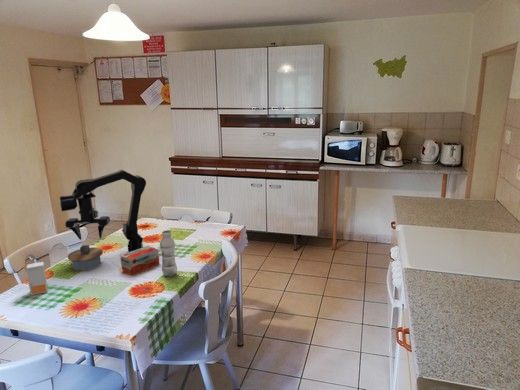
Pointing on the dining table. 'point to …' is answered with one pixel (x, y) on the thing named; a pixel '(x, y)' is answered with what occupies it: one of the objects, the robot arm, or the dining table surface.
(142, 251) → the red printed carton
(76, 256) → the walnut lid
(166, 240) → the plastic bottle
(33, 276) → the skincare box
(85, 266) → the slate bowl
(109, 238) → the dining table surface
